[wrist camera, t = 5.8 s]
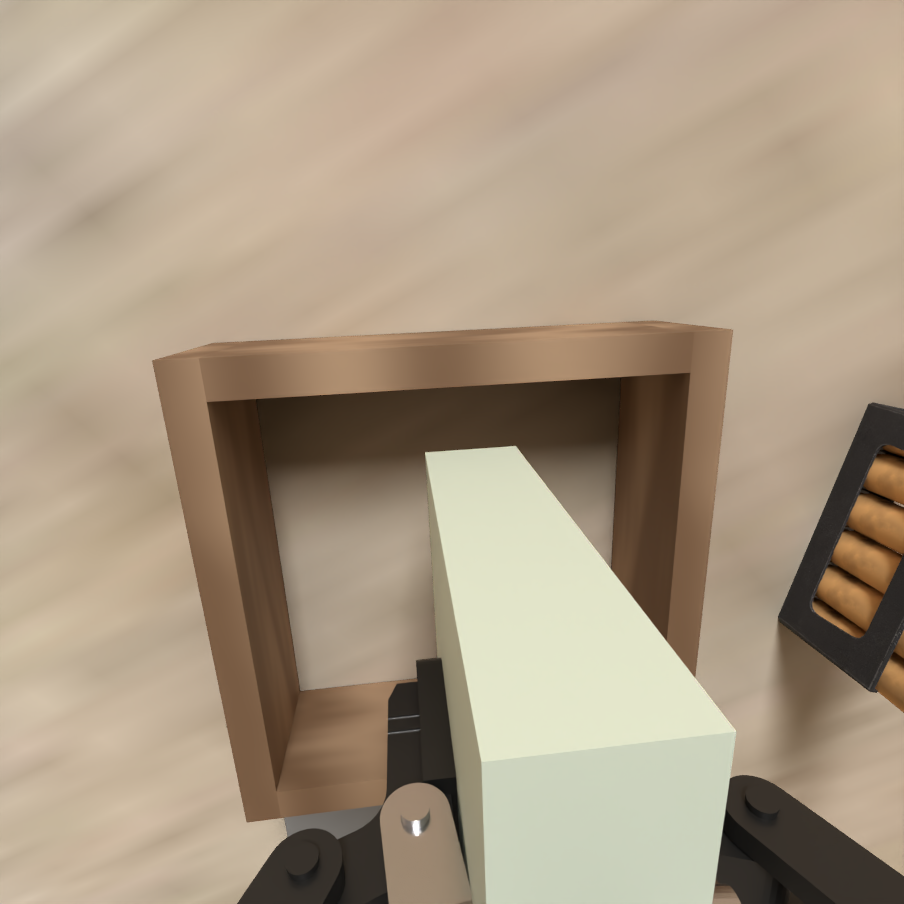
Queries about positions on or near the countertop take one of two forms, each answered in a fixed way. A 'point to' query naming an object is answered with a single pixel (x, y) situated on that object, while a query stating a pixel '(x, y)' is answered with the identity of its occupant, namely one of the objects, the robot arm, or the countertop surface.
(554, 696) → the pale green rectangular block
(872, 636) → the ammunition clip
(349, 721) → the walnut box
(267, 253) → the countertop surface
